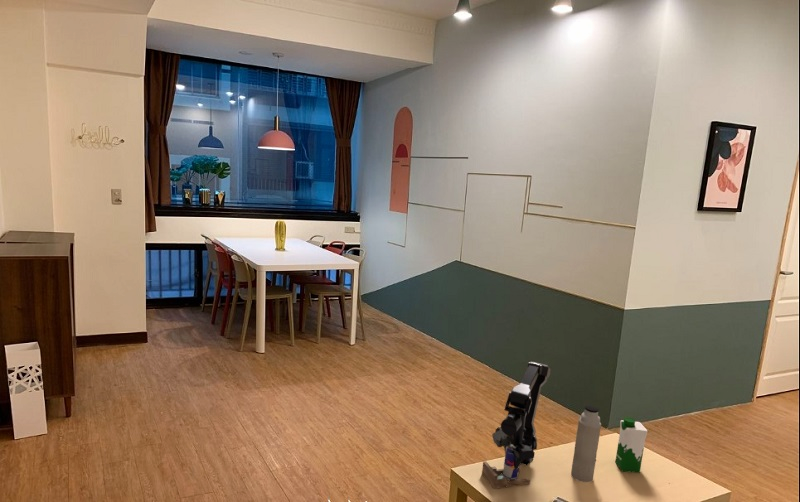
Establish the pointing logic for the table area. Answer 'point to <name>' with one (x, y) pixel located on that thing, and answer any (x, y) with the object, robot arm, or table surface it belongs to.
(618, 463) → the milk carton
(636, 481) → the table surface
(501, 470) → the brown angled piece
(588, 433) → the thermos bottle
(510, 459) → the energy drink
